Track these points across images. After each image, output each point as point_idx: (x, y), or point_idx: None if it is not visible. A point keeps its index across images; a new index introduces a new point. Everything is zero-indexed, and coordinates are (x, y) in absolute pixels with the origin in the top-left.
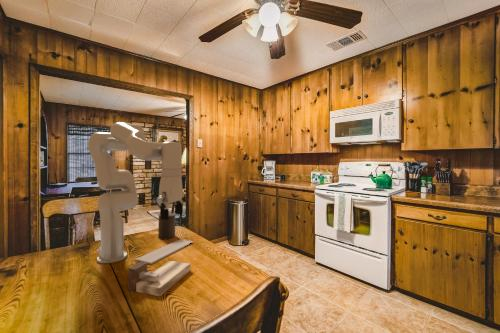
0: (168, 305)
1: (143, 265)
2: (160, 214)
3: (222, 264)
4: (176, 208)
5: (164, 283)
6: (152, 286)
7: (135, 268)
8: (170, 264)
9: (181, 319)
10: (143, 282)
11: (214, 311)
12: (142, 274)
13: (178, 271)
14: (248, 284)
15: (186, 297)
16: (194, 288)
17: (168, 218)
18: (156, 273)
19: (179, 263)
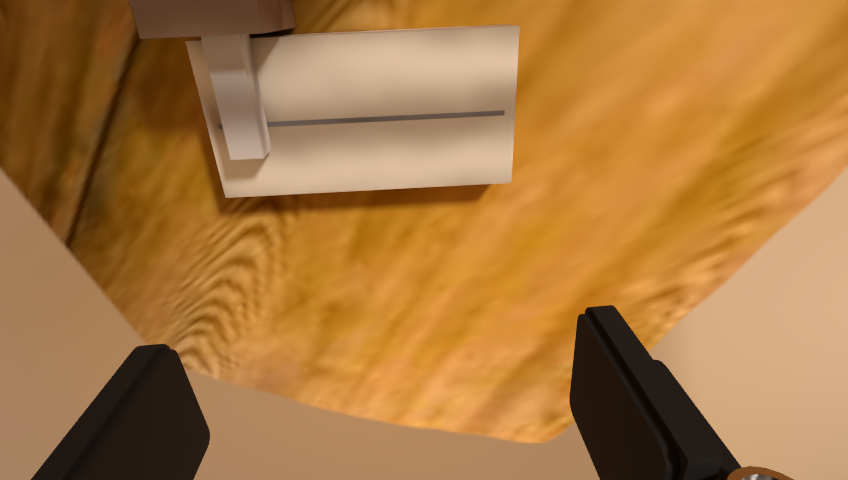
0: (214, 253)
1: (227, 34)
2: (93, 405)
3: (608, 280)
4: (615, 412)
5: (267, 191)
6: (215, 154)
7: (151, 27)
8: (466, 71)
9: (183, 333)
10: None
11: (271, 392)
12: (208, 62)
13: (403, 177)
14: (462, 420)
15: (290, 282)
16: (359, 275)
17: (197, 454)
18: (259, 140)
19: (496, 118)
